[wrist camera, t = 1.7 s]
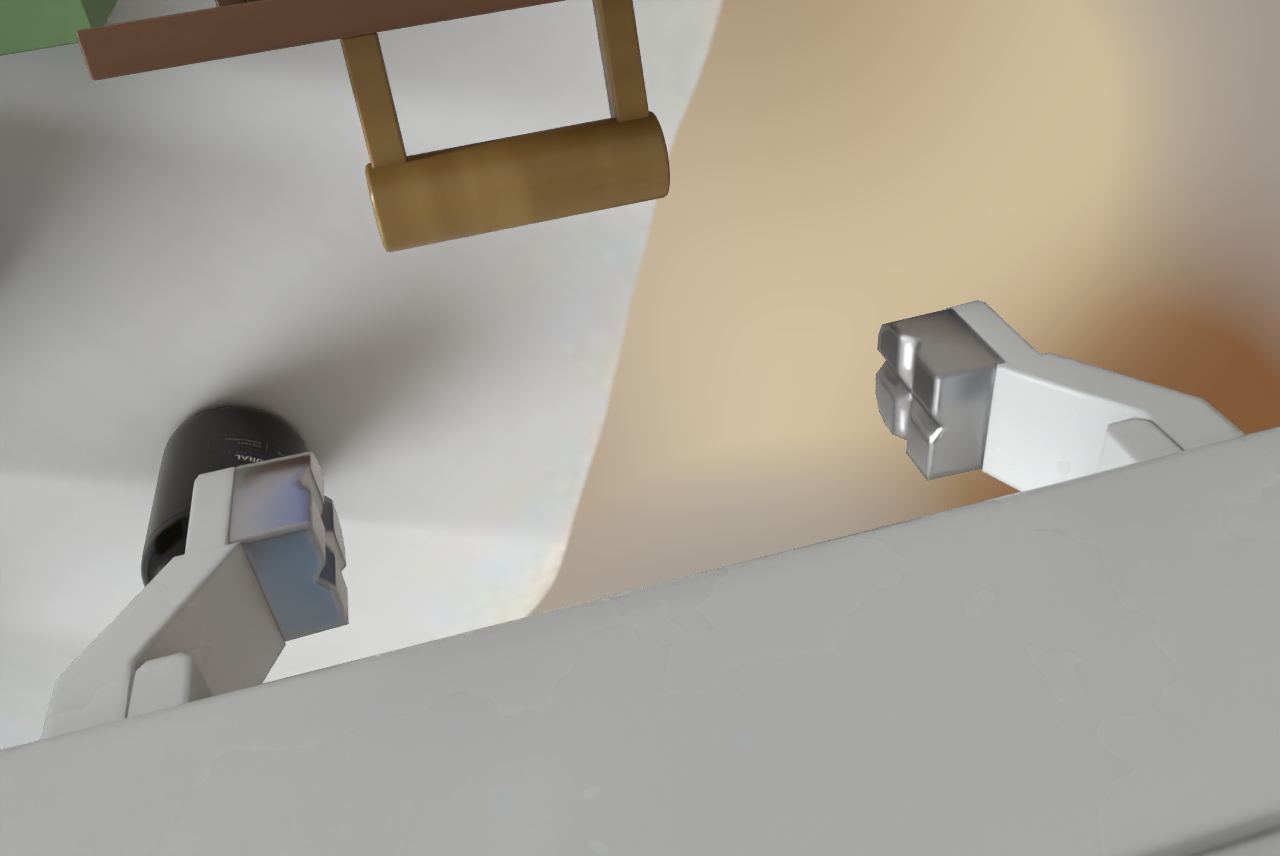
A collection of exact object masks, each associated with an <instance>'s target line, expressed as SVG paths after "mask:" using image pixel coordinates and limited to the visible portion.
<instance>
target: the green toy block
mask: <svg viewBox="0 0 1280 856" xmlns="http://www.w3.org/2000/svg"><path fill="white" fill-rule="evenodd" d="M116 2H117V0H0V56H1V55H7V54H13V53H19V52H25V51H31V50H38V49H44V48H50V47H56V46H62V45H68V44H74V43H79V42H78V39H77V36H76V31H78V30H81V29H87V28H93V27H100V26H104V25H105V23H106V21H107V19H108V17H109V15H110V13H111V11H112V10H113V8H114V6H115V4H116Z"/></svg>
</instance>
